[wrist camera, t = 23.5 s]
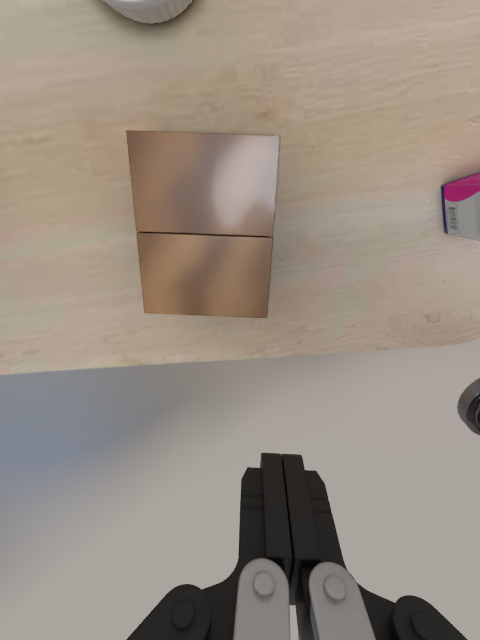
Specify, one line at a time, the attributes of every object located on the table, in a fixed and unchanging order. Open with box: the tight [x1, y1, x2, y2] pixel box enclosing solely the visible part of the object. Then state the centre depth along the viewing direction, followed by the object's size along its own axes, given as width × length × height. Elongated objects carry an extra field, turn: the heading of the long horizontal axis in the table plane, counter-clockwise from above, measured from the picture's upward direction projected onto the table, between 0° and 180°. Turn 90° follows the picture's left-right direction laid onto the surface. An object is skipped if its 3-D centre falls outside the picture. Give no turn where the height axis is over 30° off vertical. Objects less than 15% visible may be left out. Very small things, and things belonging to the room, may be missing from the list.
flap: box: [137, 232, 273, 318], centre depth 34 cm, size 14×9×1 cm, turn 88°
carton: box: [126, 131, 280, 238], centre depth 35 cm, size 14×18×7 cm
